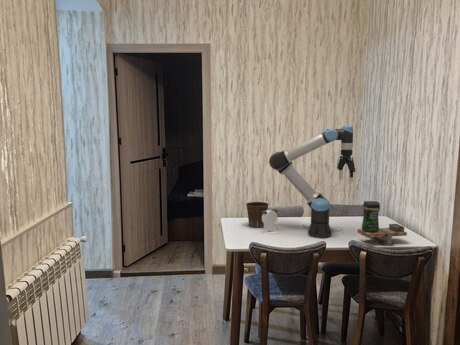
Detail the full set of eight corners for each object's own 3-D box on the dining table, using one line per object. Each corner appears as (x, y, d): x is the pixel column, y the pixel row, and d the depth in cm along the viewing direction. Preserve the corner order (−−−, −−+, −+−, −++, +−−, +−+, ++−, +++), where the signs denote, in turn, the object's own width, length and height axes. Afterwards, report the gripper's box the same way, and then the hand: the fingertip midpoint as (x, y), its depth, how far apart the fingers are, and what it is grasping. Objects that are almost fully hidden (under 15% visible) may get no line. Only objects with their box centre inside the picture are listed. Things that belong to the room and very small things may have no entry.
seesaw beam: (367, 237, 230) (368, 229, 229) (357, 232, 241) (357, 224, 241) (406, 235, 235) (407, 227, 234) (394, 230, 246) (395, 222, 246)
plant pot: (248, 229, 268) (248, 206, 266) (243, 223, 284) (243, 202, 282) (271, 228, 271) (271, 205, 269) (264, 222, 287) (265, 201, 285)
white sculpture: (270, 228, 270) (270, 207, 268) (281, 232, 261) (282, 210, 259) (257, 231, 262) (257, 209, 261) (268, 235, 253) (268, 212, 252)
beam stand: (384, 246, 230) (385, 233, 229) (369, 238, 246) (370, 226, 245) (393, 245, 231) (394, 233, 230) (378, 238, 247) (378, 226, 246)
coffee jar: (364, 232, 232) (366, 202, 230) (360, 229, 240) (361, 200, 238) (380, 232, 232) (382, 202, 230) (375, 229, 240) (376, 200, 238)
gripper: (361, 150, 245) (360, 183, 247) (342, 148, 269) (341, 178, 272) (351, 150, 243) (349, 183, 246) (332, 148, 268) (331, 178, 270)
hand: (345, 181), depth 259 cm, fingers open, 13 cm apart
